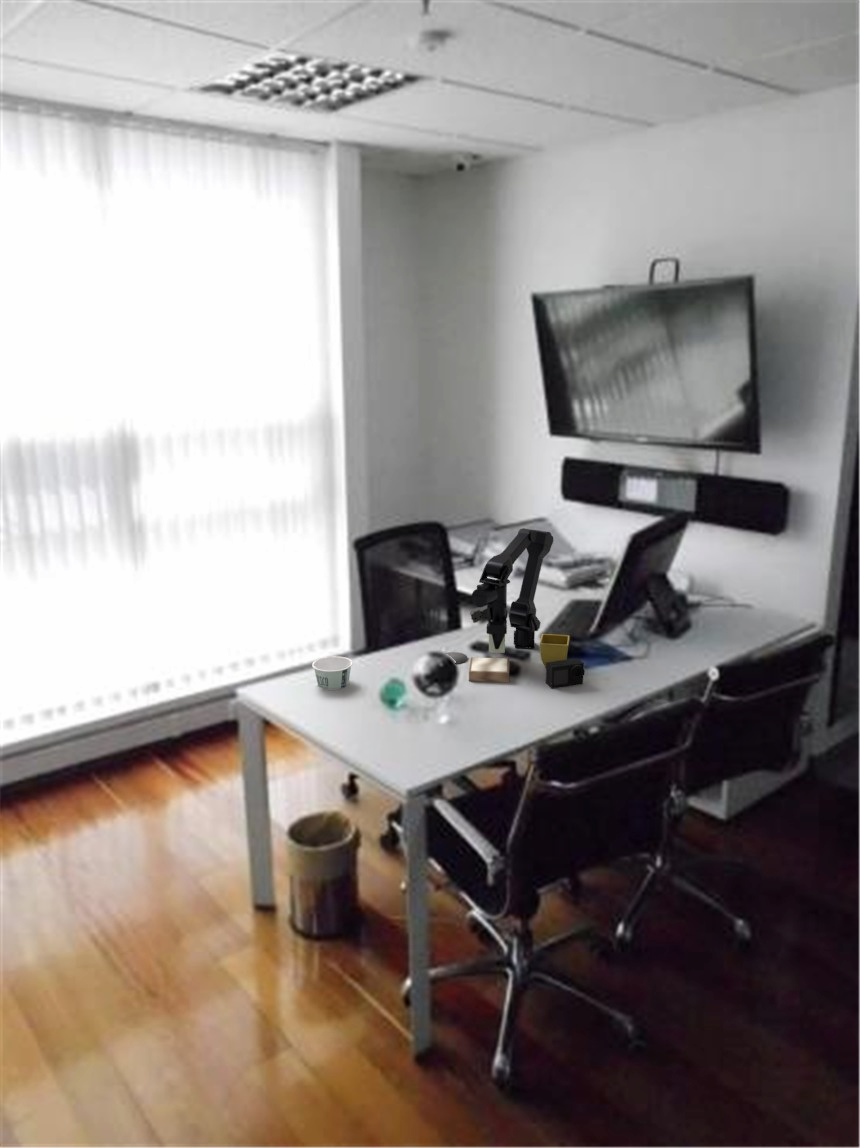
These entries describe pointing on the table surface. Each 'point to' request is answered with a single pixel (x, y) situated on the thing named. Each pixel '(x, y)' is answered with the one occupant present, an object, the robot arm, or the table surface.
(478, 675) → the plinth
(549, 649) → the flower pot
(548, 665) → the digital camera
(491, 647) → the block
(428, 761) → the table surface
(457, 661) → the coaster
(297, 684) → the table surface
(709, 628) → the table surface
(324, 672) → the food container
